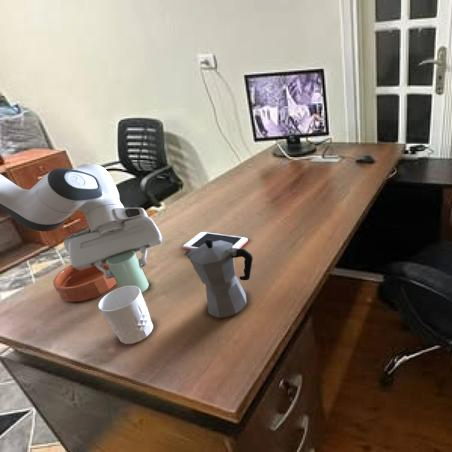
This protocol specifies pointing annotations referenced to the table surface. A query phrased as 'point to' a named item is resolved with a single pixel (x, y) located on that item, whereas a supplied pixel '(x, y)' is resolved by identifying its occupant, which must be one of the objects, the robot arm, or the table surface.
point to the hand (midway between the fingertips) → (127, 271)
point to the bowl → (82, 283)
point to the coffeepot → (221, 275)
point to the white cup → (127, 314)
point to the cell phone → (202, 236)
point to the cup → (127, 270)
